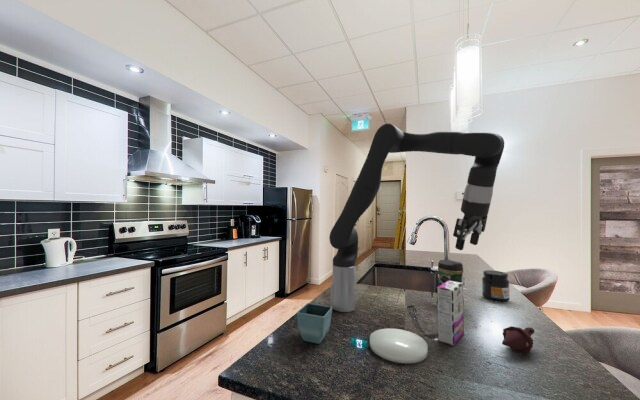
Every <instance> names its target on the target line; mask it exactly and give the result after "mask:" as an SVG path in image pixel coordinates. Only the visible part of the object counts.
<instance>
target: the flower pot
mask: <svg viewBox="0 0 640 400" xmlns="http://www.w3.org/2000/svg"><path fill="white" fill-rule="evenodd" d="M332 315H333V309H332V307H330V306H328V305H322V304H317V303H306V304H304V305H303V306H302V307H301V308H300V309H298V310H297V312H296V318H297V329H298V332H299V334H300V336H301V338H302V340H303V341H305V342H308V343H313V344H318V345H319V344H321V342H322V341H323V340H324V338H325V337H326V336H327V333H328V331H329V329H330V326H331V323H332V321H331V320H332Z"/></svg>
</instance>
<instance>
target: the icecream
mask: <svg viewBox="0 0 640 400" xmlns="http://www.w3.org/2000/svg"><path fill="white" fill-rule="evenodd" d="M502 331H503V332H502V336H503V340H502V343H501V345H504V346H506V347H509V348H510V349H509V350H511V351H512V352H515V353H518V354H519V355H526V354H527V353H530V352H532V349H533V347H534V339H533V338H532V336H533V334H535V329H534V328H533V327H530V326H528V327H525V328H524V329H523V328H522V327H517V326H512V325H511V326H508V327H505V328H503V330H502Z"/></svg>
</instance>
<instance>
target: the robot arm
mask: <svg viewBox="0 0 640 400" xmlns="http://www.w3.org/2000/svg"><path fill="white" fill-rule="evenodd" d="M504 148H505V140H504V138H503V137H502V136H501V135H500V134H498V133H495V132H462V131H448V130H447V131H445V130H444V131H441V130H440V131H433V132H428V133H427V132H426V133H411V132H406V131H402V130H401V129H400V128H398V127H397V126H395V125H394V124H392V123H385V124H382V125H381V126H380V127H379V128H378V129H377V130H376V132H375V133H374V136H373V139H372V142H371V145H370V147H369V151H368V153H367V156H366V159H365V160H364V163H363V165H362V167H361V170H360V172H359V174H358V176H357V178H356V180H355V182H354V184H353V187H352V189H351V191H350V194H349V196H348V198H347V200H346V203H345V205H344V206H343V209H342V211H341V213H340V214H339V217H338V218H337V220H336V222H335V223H334V225H333V226H332V228H331V231H330V233H329V244H330V246H332V248H334V249H335V250H337V251H336V254H335V255H334V256H333V258H332V282H331V284H330V307H332V310H334V311H336V312H341V313H349V312H350V313H351V312H353V311H355V309H356V262H357V258H358V255H359V253H358V250H359V235H358V232H357V229H356V228H355V226H356V224H357V222H358V220H360V218H361V217H362V215H364V213H365V212H366V211H367V210H368V209H369V207H370V206H371V205H372V203H373V202H374V200H375V198H376V196H377V194H378V192H379V190H380V187H381V183H382V171H383V166H384V163H385V161H386V159H387V157H388V155H389V153H390V154H395V153H397V154H398V153H408V152H411V153H412V152H422V153H433V154H434V153H435V154H444V155H445V154H446V155H463V156H469V157H474V160H473V161H474V162H473V164H472V165H471V167H470V169H469V172H468V177H467V182H466V185H465V188H464V191H463V197H462V201H461V207H460V212H461V213H463V217H462V218H459V217H458V218H456V221H455V226H454V229H453V230H454V231H453V234H452V235H453V237H455V238H456V242H455V246H454V247H455V249H457V250H458V251H463V250H464V248H465V241H466V238H467V236H468V235H470V234H471V236H470V240H469V244H471V245H474V246H476V245H478V243H479V238H480V235H481V234H482V233H484V232H485V230H486V227H487V221H488V215H489V212H490V211H489V210H490V207H491V202H492V199H493V194H494V185H495V183H496V182H495V180H496V177H497V170H498V167H499V165H500V162H501V159H502V157H503V152H504Z"/></svg>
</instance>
